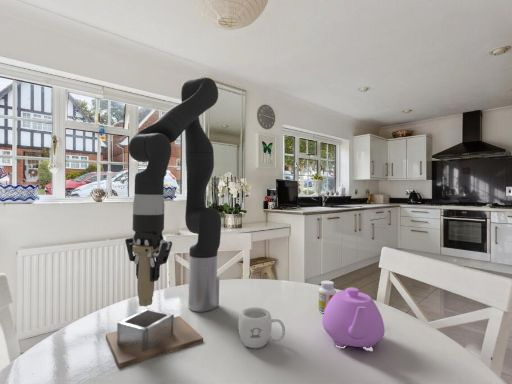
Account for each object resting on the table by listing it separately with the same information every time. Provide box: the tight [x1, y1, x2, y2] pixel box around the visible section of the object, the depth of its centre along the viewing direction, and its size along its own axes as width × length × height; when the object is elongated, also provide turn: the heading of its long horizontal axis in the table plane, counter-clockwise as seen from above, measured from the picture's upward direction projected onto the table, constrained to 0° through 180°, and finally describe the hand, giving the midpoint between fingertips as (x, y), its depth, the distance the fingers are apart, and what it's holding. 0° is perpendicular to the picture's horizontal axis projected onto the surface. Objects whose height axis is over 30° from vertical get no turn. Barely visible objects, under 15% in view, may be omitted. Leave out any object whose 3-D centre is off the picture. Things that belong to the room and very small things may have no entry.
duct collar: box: [116, 307, 175, 352], centre depth 75 cm, size 10×9×5 cm
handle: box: [133, 245, 160, 307], centre depth 74 cm, size 5×6×15 cm
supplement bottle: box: [318, 280, 337, 313], centre depth 96 cm, size 5×5×10 cm
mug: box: [238, 307, 286, 349], centre depth 75 cm, size 12×8×8 cm
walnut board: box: [105, 315, 204, 369], centre depth 76 cm, size 20×16×1 cm
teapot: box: [321, 286, 386, 348], centre depth 77 cm, size 22×16×14 cm
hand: (147, 279), depth 75 cm, fingers closed on handle, 4 cm apart
